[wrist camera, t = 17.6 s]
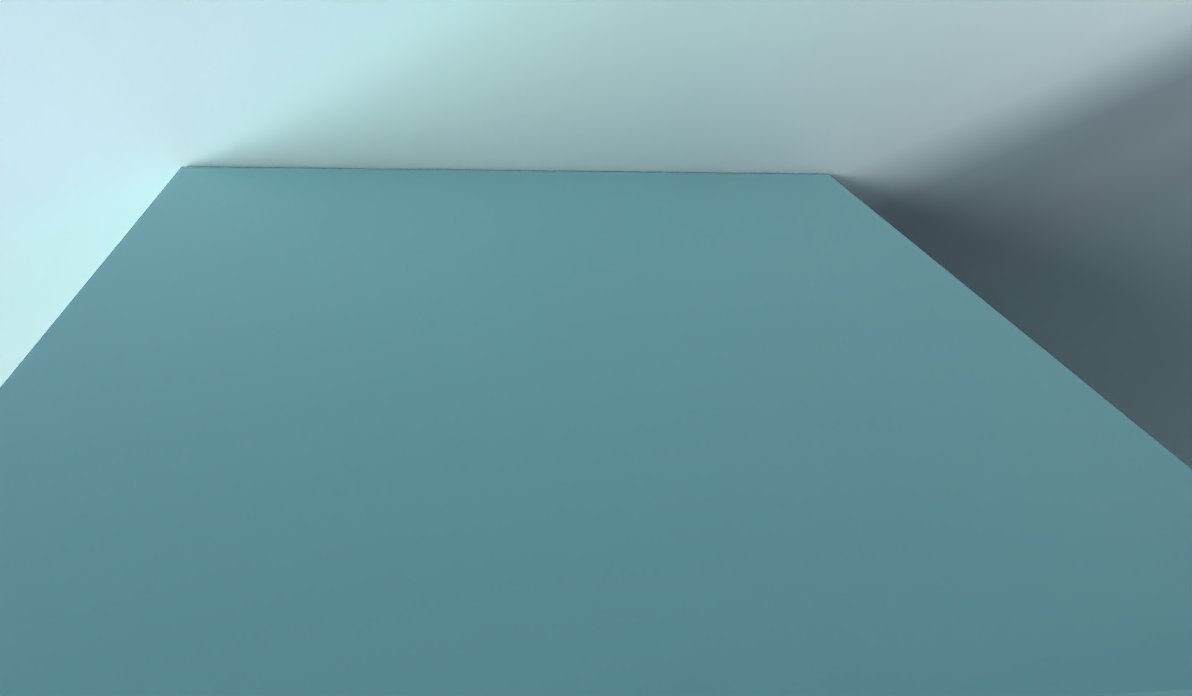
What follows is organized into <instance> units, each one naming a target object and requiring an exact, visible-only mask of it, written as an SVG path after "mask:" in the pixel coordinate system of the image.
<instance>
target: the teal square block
mask: <svg viewBox="0 0 1192 696" xmlns="http://www.w3.org/2000/svg"><path fill="white" fill-rule="evenodd" d="M0 696H1192V469H1191V468H1189V467H1188V466H1187V465H1186V464H1184V463H1183V462H1182V461H1181V460H1179V459H1178V458H1177V457H1176V456H1175V455H1173V454H1172V453H1171V452H1170V451H1168V450H1167V449H1166V448H1165V447H1163V446H1162V445H1161V444H1160V443H1159V442H1157V441H1156V440H1155V439H1154V438H1152V437H1151V436H1150V435H1149V434H1147V433H1146V432H1145V431H1144V430H1143V429H1141V428H1140V427H1139V426H1138V425H1136V424H1135V423H1134V422H1133V421H1131V420H1130V419H1129V418H1128V417H1127V416H1125V415H1124V414H1123V413H1122V412H1120V411H1119V410H1118V409H1117V408H1115V407H1114V406H1113V405H1112V404H1111V403H1109V402H1108V401H1107V400H1106V399H1104V398H1103V397H1102V396H1101V395H1099V394H1098V393H1097V392H1096V391H1095V390H1093V389H1092V388H1091V387H1090V386H1088V385H1087V384H1086V383H1085V382H1083V381H1082V380H1081V379H1080V378H1079V377H1077V376H1076V375H1075V374H1074V373H1072V372H1071V371H1070V370H1069V369H1067V368H1066V367H1065V366H1064V365H1063V364H1061V363H1060V362H1059V361H1058V360H1056V359H1055V358H1054V357H1053V356H1051V355H1050V354H1049V353H1048V352H1047V351H1045V350H1044V349H1043V348H1042V347H1040V346H1039V345H1038V344H1037V343H1035V342H1034V341H1033V340H1032V339H1031V338H1029V337H1028V336H1027V335H1026V334H1024V333H1023V332H1022V331H1021V330H1019V329H1018V328H1017V327H1016V326H1015V325H1013V324H1012V323H1011V322H1010V321H1008V320H1007V319H1006V318H1005V317H1003V316H1002V315H1001V314H1000V313H999V312H997V311H996V310H995V309H994V308H992V307H991V306H990V305H989V304H987V303H986V302H985V301H984V300H983V299H981V298H980V297H979V296H978V295H976V294H975V293H974V292H973V291H971V290H970V289H969V288H968V287H967V286H965V285H964V284H963V283H962V282H960V281H959V280H958V279H957V278H955V277H954V276H953V275H952V274H951V273H949V272H948V271H947V270H946V269H944V268H943V267H942V266H941V265H939V264H938V263H937V262H936V261H935V260H933V259H932V258H931V257H930V256H928V255H927V254H926V253H925V252H923V251H922V250H921V249H920V248H919V247H917V246H916V245H915V244H914V243H912V242H911V241H910V240H909V239H907V238H906V237H905V236H904V235H903V234H901V233H900V232H899V231H898V230H896V229H895V228H894V227H893V226H891V225H890V224H889V223H888V222H887V221H885V220H884V219H883V218H882V217H880V216H879V215H878V214H877V213H876V212H874V211H873V210H872V209H871V208H869V207H868V206H867V205H866V204H864V203H863V202H862V201H861V200H860V199H858V198H857V197H856V196H855V195H853V194H852V193H851V192H850V191H848V190H847V189H846V188H845V187H844V186H842V185H841V184H840V183H839V182H837V181H836V180H835V179H834V178H832V177H831V176H830V175H829V174H761V173H677V172H592V171H507V170H422V169H337V168H253V167H181V168H180V170H179V171H178V172H177V173H176V174H175V176H174V177H173V178H172V179H171V180H170V182H169V183H168V184H167V185H166V187H165V188H164V189H163V190H162V191H161V193H160V194H159V195H158V196H157V198H156V199H155V200H154V201H153V202H152V204H151V205H150V206H149V207H148V208H147V210H146V211H145V212H144V213H143V215H142V216H141V217H140V218H139V219H138V221H137V222H136V223H135V224H134V226H133V227H132V228H131V229H130V230H129V232H128V233H127V234H126V235H125V237H124V238H123V239H122V240H121V241H120V243H119V244H118V245H117V246H116V247H115V249H114V250H113V251H112V252H111V254H110V255H109V256H108V257H107V258H106V260H105V261H104V262H103V263H102V265H101V266H100V267H99V268H98V269H97V271H96V272H95V273H94V274H93V275H92V277H91V278H90V279H89V280H88V282H87V283H86V284H85V285H84V286H83V288H82V289H81V290H80V291H79V293H78V294H77V295H76V296H75V297H74V299H73V300H72V301H71V302H70V304H69V305H68V306H67V307H66V308H65V310H64V311H63V312H62V313H61V314H60V316H59V317H58V318H57V319H56V321H55V322H54V323H53V324H52V325H51V327H50V328H49V329H48V330H47V332H46V333H45V334H44V335H43V336H42V338H41V339H40V340H39V341H38V343H37V344H36V345H35V346H34V347H33V349H32V350H31V351H30V352H29V353H28V355H27V356H26V357H25V358H24V360H23V361H22V362H21V363H20V364H19V366H18V367H17V368H16V369H15V371H14V372H13V373H12V374H11V375H10V377H9V378H8V379H7V380H6V381H5V383H4V384H3V385H2V386H1V388H0Z"/></svg>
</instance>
